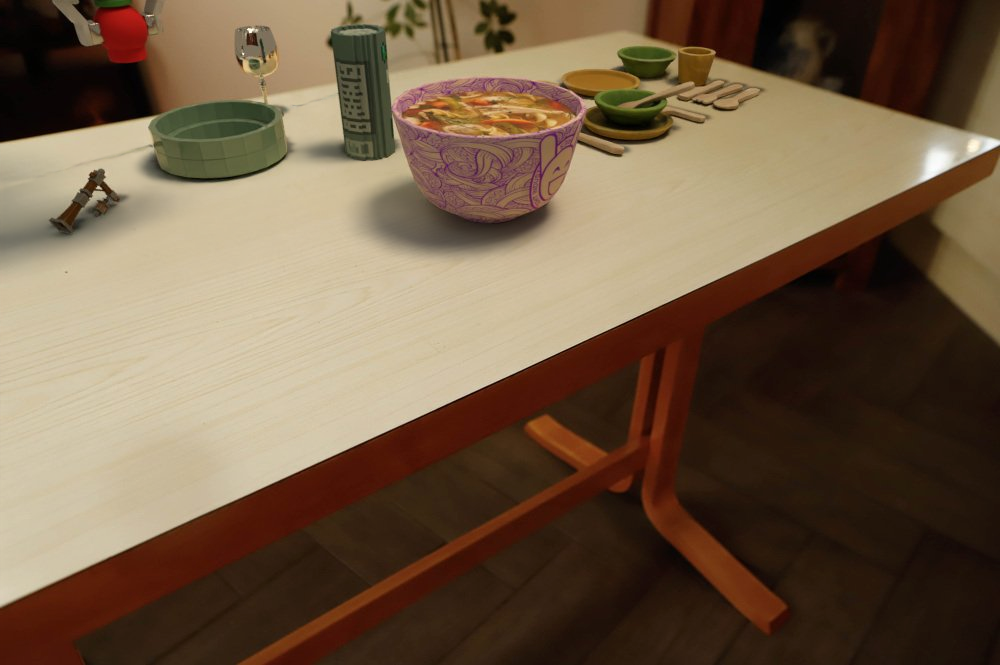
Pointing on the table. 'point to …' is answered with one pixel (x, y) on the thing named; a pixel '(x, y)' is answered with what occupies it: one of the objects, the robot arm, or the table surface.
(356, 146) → the can
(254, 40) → the wineglass
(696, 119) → the tableware set
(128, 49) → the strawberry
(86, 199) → the wooden post with brackets
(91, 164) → the table surface
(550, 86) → the bowl of food
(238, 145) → the bowl
